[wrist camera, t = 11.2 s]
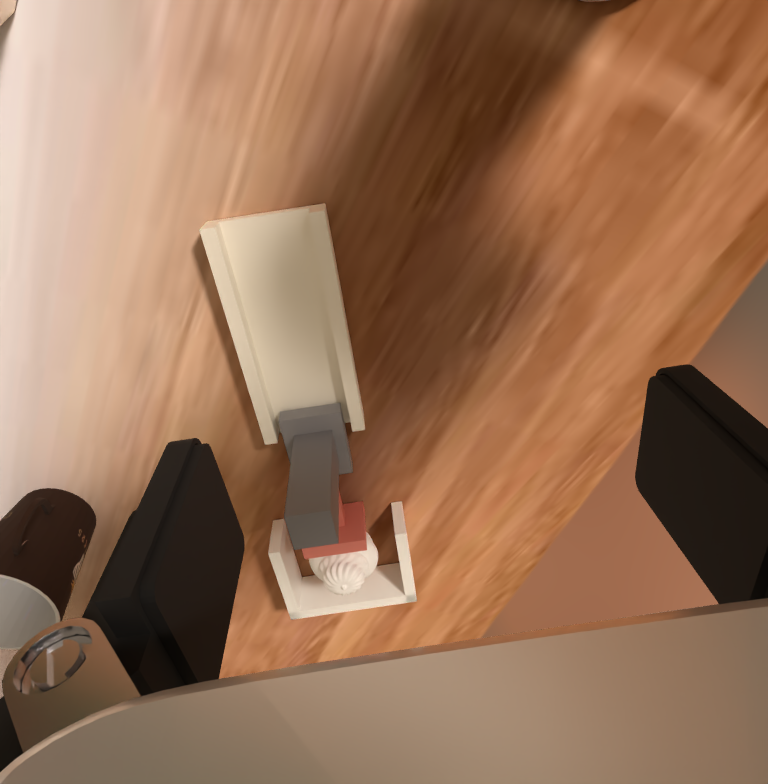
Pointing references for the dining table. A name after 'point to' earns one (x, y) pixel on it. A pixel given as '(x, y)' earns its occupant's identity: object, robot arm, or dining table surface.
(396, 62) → the dining table surface
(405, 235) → the dining table surface
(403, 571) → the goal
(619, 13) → the dining table surface
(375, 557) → the white ribbed dome
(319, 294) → the track
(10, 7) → the white cup
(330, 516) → the block
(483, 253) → the dining table surface
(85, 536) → the coffee mug
